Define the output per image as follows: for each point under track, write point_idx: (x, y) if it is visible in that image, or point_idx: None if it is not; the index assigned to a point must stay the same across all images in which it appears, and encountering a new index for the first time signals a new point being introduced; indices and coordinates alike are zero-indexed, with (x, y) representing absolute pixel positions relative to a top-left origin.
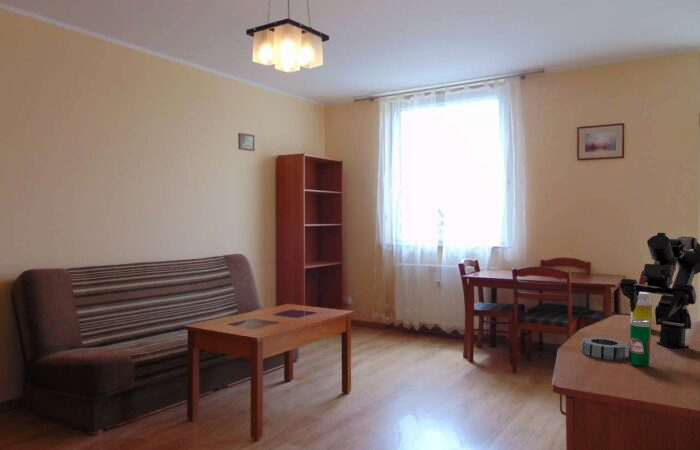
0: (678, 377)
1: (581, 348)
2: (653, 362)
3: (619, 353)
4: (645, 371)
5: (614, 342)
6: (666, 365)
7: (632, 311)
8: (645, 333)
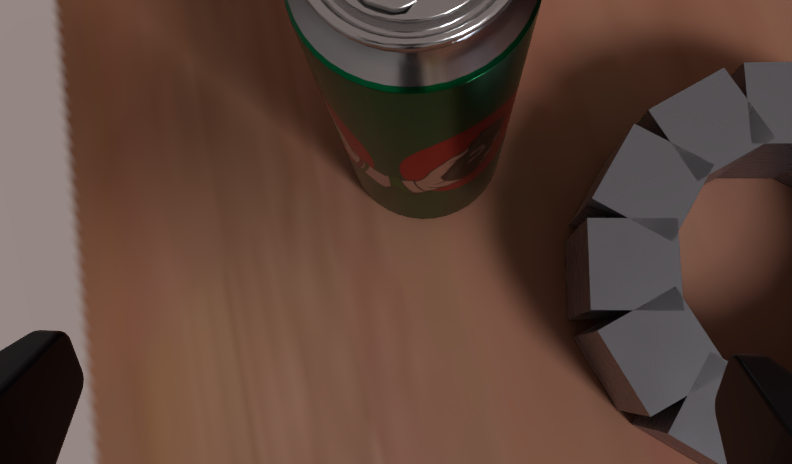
0: (148, 43)
1: None
2: (365, 318)
3: (599, 176)
4: None
5: None
6: (268, 301)
7: (723, 383)
8: None
